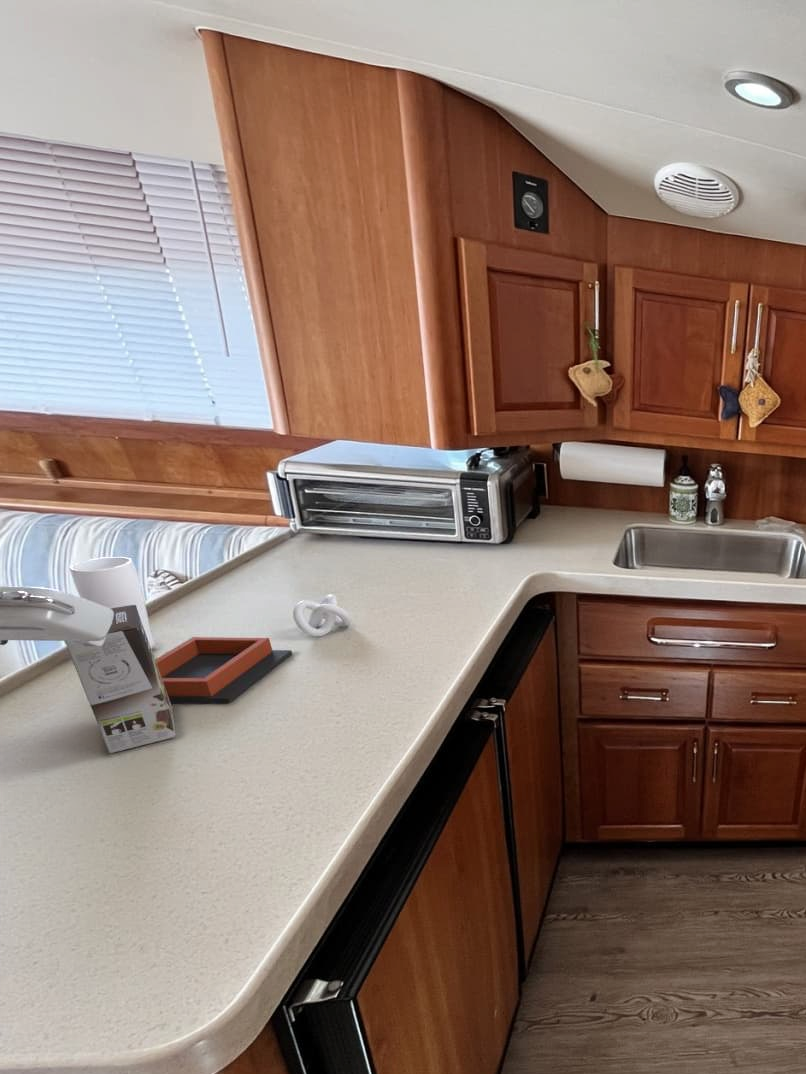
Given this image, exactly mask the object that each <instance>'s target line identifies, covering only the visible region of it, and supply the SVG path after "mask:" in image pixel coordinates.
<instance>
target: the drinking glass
mask: <svg viewBox="0 0 806 1074" xmlns="http://www.w3.org/2000/svg"><path fill="white" fill-rule="evenodd" d="M69 572H70V576H71V578H72V581H73V584H74V586H75V589H76V592H77V594H78V595H79V596H78V597H81V598H83V599H86V600H89V601H92V602H95V603H98V604H100V605H103V606H106V607H108V608H116V607H123V606H129V605H136V607H137V610H138V613H139V616H140V619H141V622H142V624H143V627H144V630H145V633H146V636H147V638H148V641H149V644H150V647H151V650H153V649H154V647H155V646H156V641H155V638H154V635H153V632H152V628H151V624H150V619H149V615H148V610H147V605H146V602H145V597H144V592H143V587H142V584H141V580H140V577H139V574H138V571H137V569H136V567H135V564H134V562H133V560H132V559H131V558H129V557H126V556H105V557H96V558H91V559H87V560H82V561H79V562H76V563H73V564H72V565H70V566H69Z"/></svg>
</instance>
